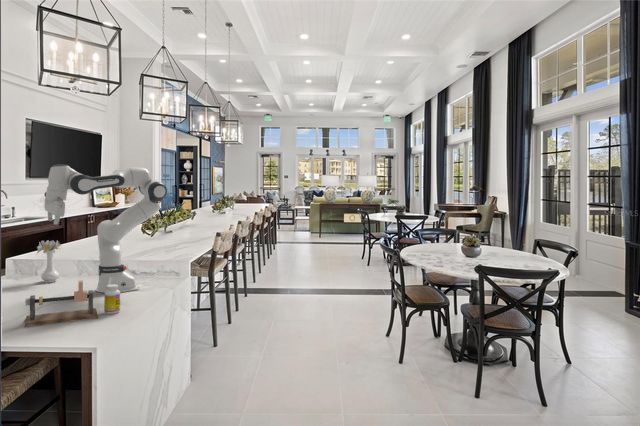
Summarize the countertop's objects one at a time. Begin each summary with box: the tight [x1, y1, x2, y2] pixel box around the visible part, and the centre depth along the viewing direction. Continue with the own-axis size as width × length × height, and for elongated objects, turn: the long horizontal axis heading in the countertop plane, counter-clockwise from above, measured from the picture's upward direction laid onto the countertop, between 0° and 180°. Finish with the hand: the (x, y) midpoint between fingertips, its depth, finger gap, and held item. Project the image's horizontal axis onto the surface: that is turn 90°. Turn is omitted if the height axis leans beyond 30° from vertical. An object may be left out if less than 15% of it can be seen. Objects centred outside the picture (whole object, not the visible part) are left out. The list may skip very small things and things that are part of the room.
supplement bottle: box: [103, 284, 121, 315], centre depth 199 cm, size 7×7×13 cm
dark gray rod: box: [25, 293, 89, 307], centre depth 187 cm, size 24×4×4 cm, turn 121°
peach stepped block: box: [73, 280, 88, 303], centre depth 191 cm, size 5×4×9 cm
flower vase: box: [36, 239, 63, 284], centre depth 253 cm, size 13×18×25 cm
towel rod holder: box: [24, 289, 99, 327], centre depth 188 cm, size 27×11×11 cm, turn 121°
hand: (52, 222), depth 217 cm, fingers open, 8 cm apart
